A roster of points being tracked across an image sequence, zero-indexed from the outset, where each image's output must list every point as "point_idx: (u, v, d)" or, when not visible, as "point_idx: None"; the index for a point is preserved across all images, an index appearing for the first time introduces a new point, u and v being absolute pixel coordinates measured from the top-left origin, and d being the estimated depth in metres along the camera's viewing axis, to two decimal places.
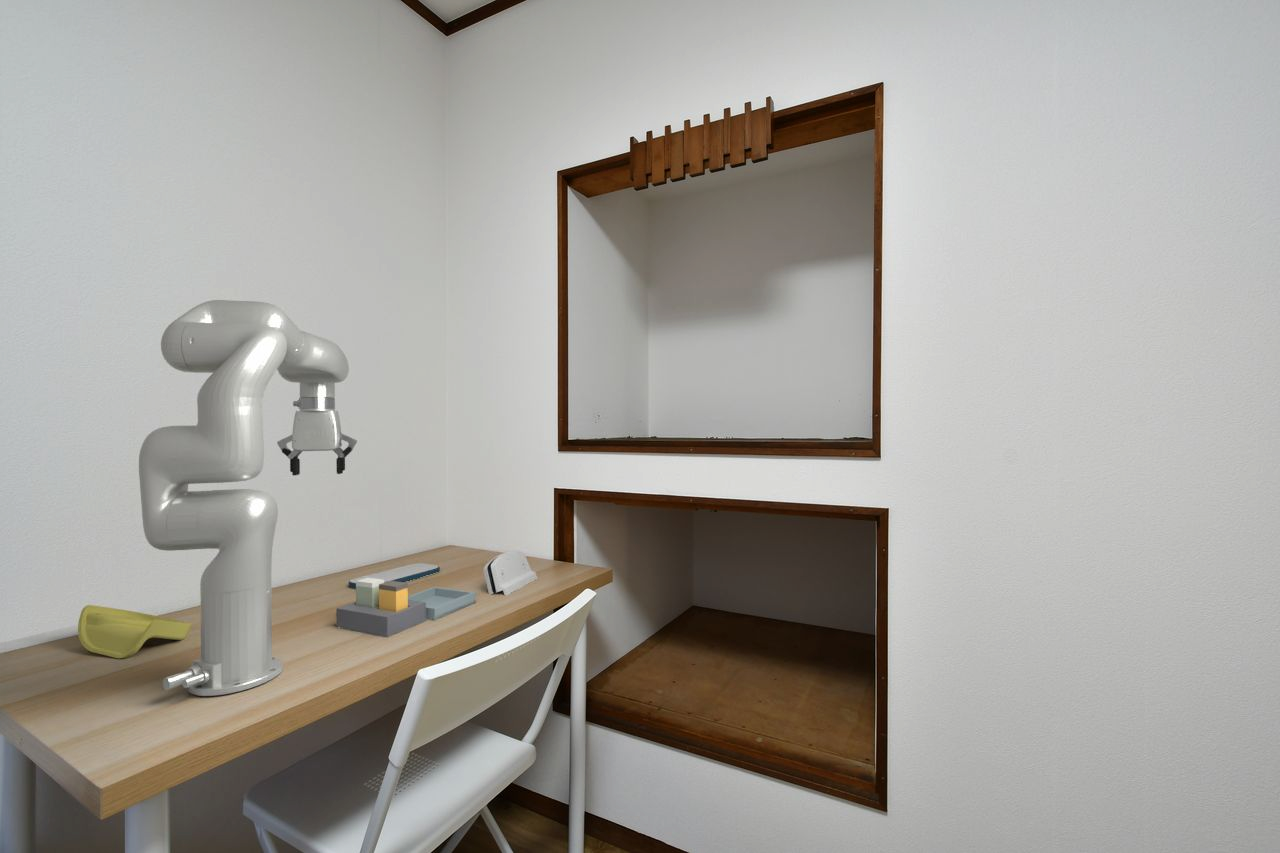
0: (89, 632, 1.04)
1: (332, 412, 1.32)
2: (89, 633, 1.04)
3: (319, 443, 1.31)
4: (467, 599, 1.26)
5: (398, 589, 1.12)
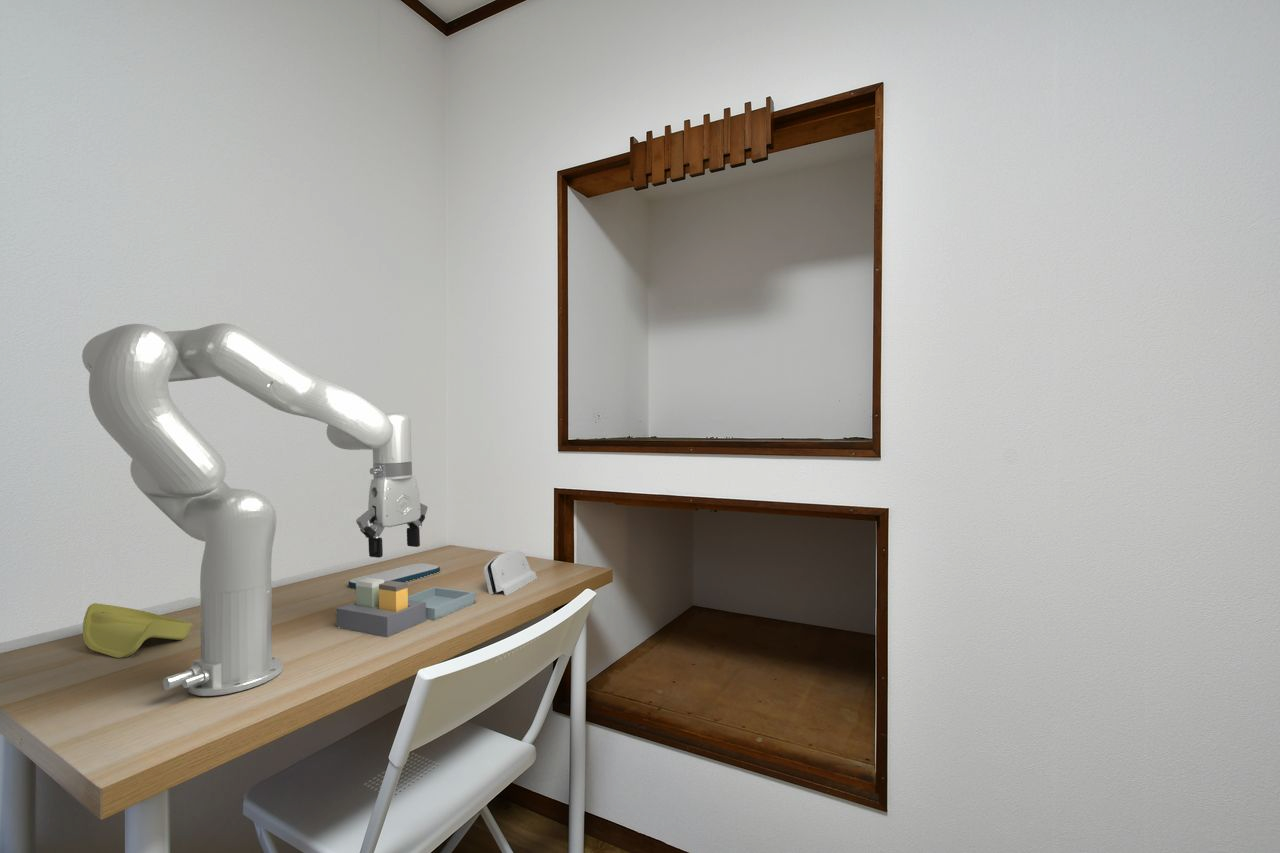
0: (93, 630, 1.05)
1: (415, 478, 1.17)
2: (93, 631, 1.05)
3: (408, 515, 1.14)
4: (467, 599, 1.26)
5: (398, 589, 1.12)
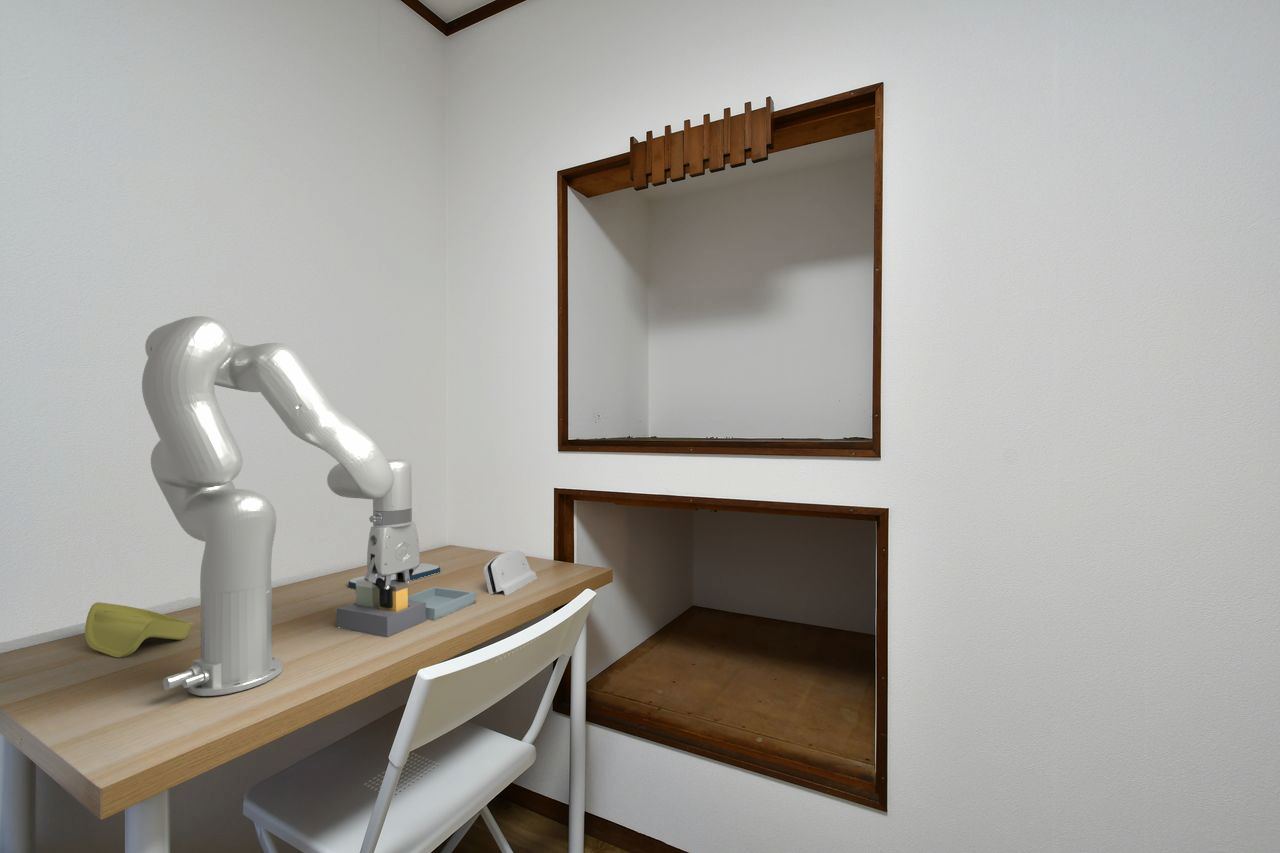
0: (95, 629, 1.05)
1: (414, 524, 1.16)
2: (95, 630, 1.05)
3: (407, 562, 1.13)
4: (467, 599, 1.26)
5: (398, 589, 1.12)
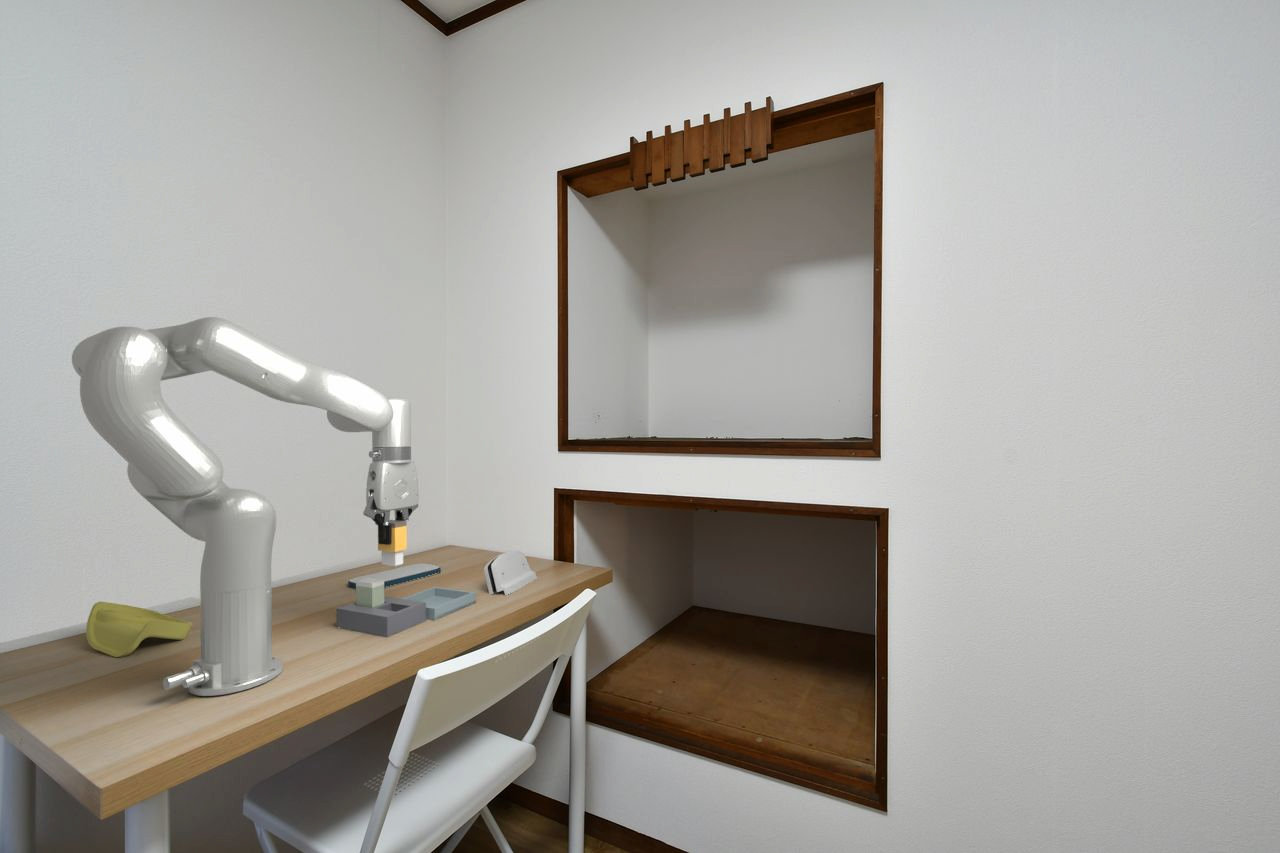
0: (96, 629, 1.06)
1: None
2: (96, 630, 1.05)
3: (406, 500, 1.13)
4: (467, 599, 1.26)
5: (397, 525, 1.12)
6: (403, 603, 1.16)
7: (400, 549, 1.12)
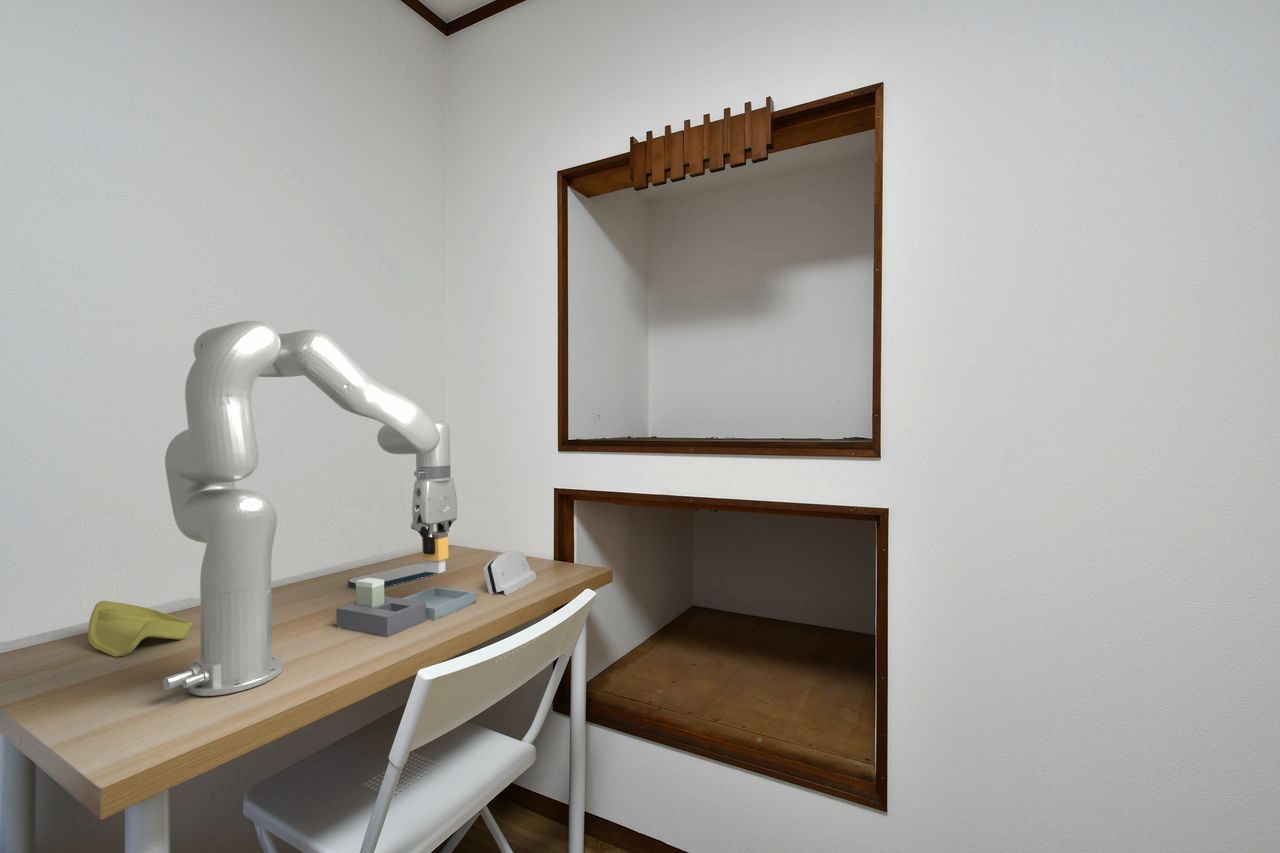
0: (98, 628, 1.06)
1: None
2: (97, 629, 1.06)
3: (447, 513, 1.25)
4: (467, 599, 1.26)
5: (439, 537, 1.24)
6: (403, 603, 1.16)
7: (443, 558, 1.24)
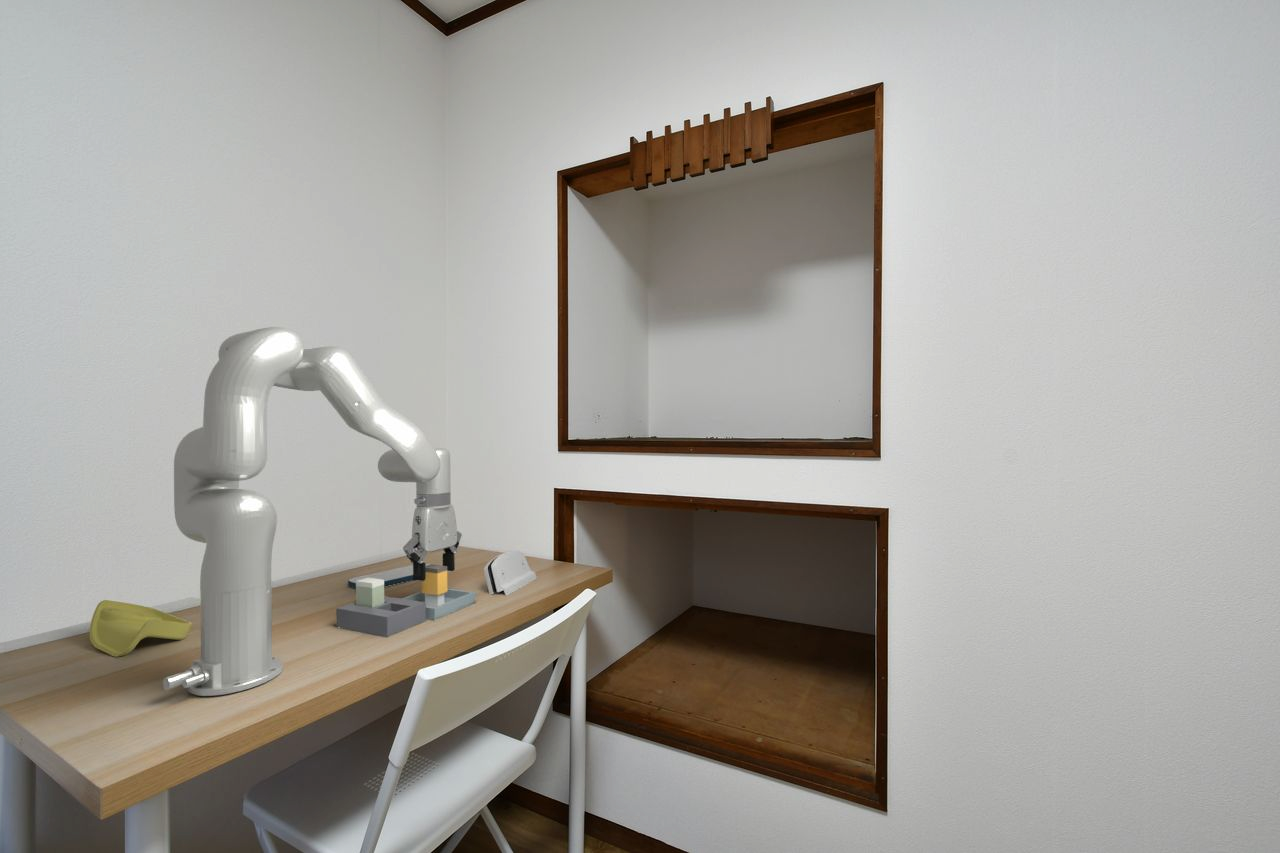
0: (99, 627, 1.06)
1: None
2: (99, 628, 1.06)
3: (446, 540, 1.25)
4: (467, 599, 1.26)
5: (439, 571, 1.23)
6: (403, 603, 1.16)
7: (442, 592, 1.24)
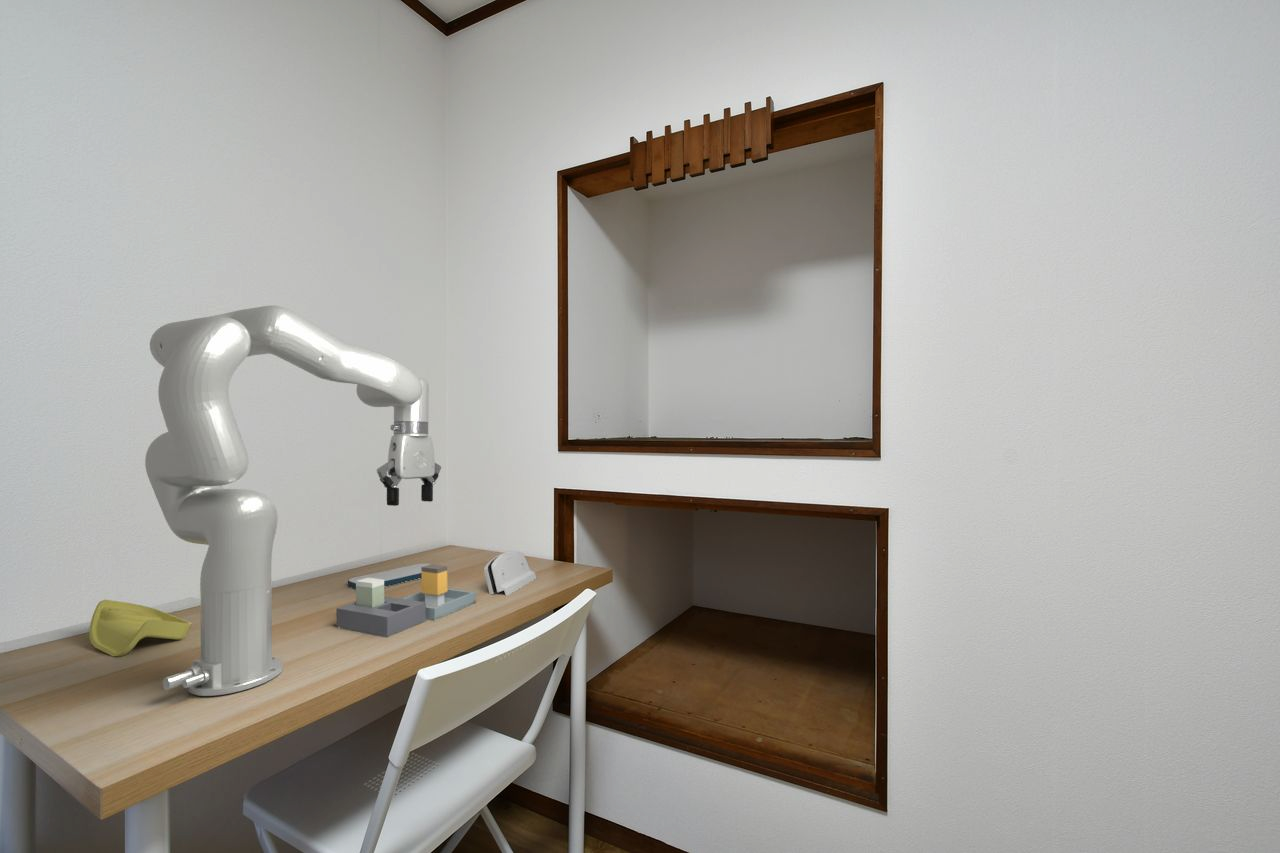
0: (99, 627, 1.07)
1: (430, 438, 1.28)
2: (98, 628, 1.06)
3: (423, 470, 1.25)
4: (467, 599, 1.26)
5: (439, 571, 1.23)
6: (403, 603, 1.16)
7: (442, 592, 1.24)
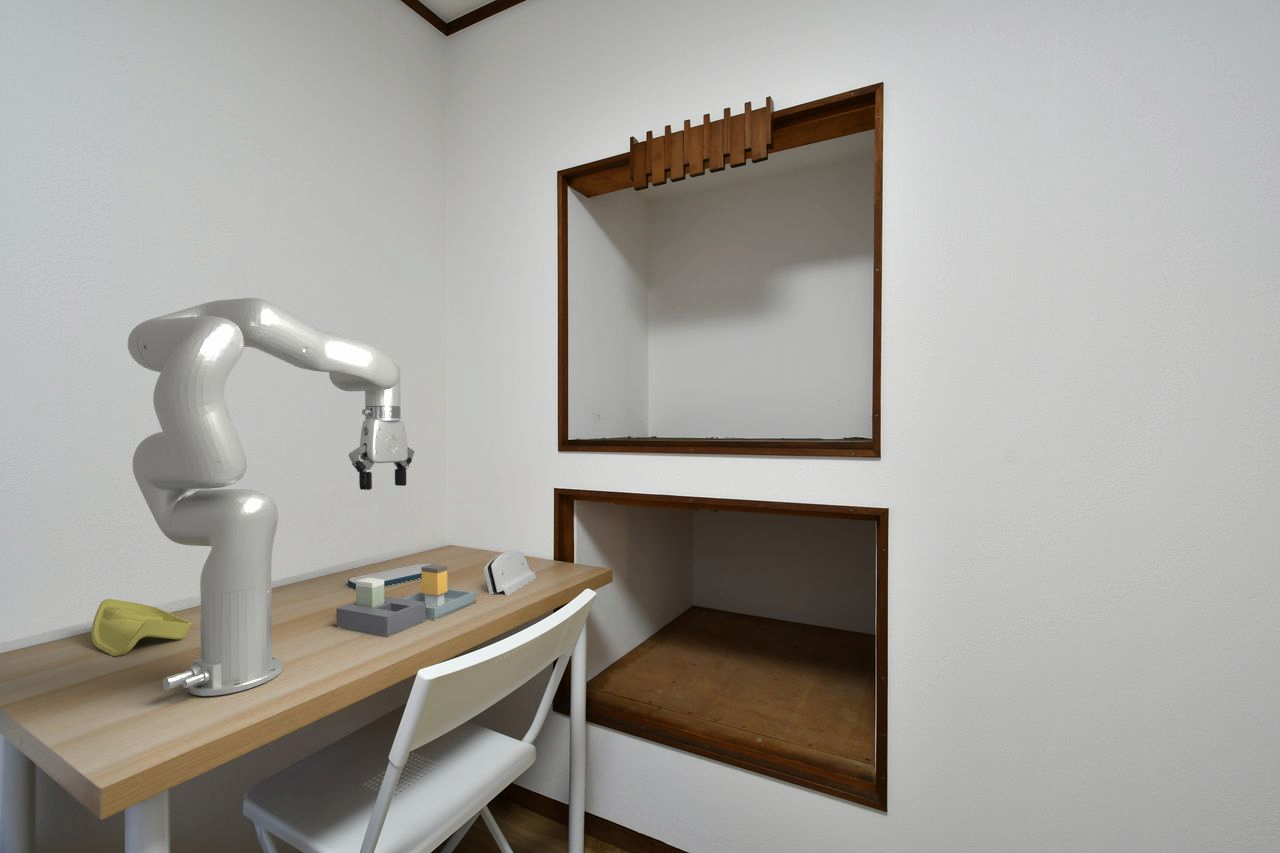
0: (101, 626, 1.07)
1: (403, 422, 1.29)
2: (101, 627, 1.07)
3: (396, 454, 1.26)
4: (467, 599, 1.26)
5: (439, 571, 1.23)
6: (403, 603, 1.16)
7: (442, 592, 1.24)
